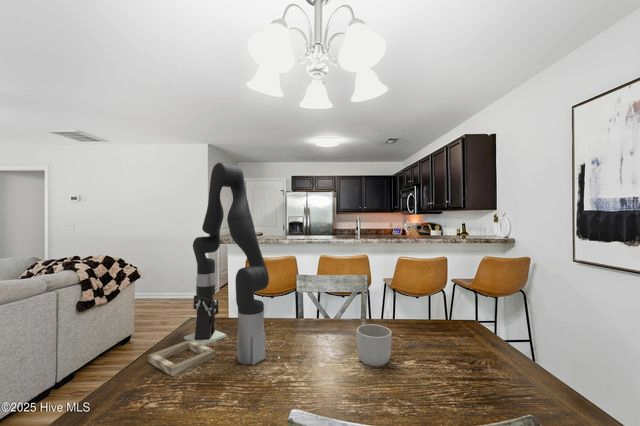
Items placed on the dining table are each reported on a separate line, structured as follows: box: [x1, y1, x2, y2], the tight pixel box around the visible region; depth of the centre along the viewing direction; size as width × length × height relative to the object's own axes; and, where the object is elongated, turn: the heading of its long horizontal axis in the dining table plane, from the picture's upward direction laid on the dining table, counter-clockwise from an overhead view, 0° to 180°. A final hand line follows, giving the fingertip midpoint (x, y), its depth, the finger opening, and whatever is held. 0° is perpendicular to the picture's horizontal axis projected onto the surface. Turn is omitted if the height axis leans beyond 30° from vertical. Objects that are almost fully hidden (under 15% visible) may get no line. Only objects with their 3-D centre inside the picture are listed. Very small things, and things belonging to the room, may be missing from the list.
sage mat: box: [183, 329, 227, 346], centre depth 125 cm, size 12×12×1 cm
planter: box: [356, 323, 393, 367], centre depth 107 cm, size 12×12×11 cm
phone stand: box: [194, 307, 216, 340], centre depth 125 cm, size 9×6×12 cm, turn 5°
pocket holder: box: [147, 340, 216, 377], centre depth 107 cm, size 16×16×2 cm
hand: (205, 322), depth 125 cm, fingers open, 8 cm apart
